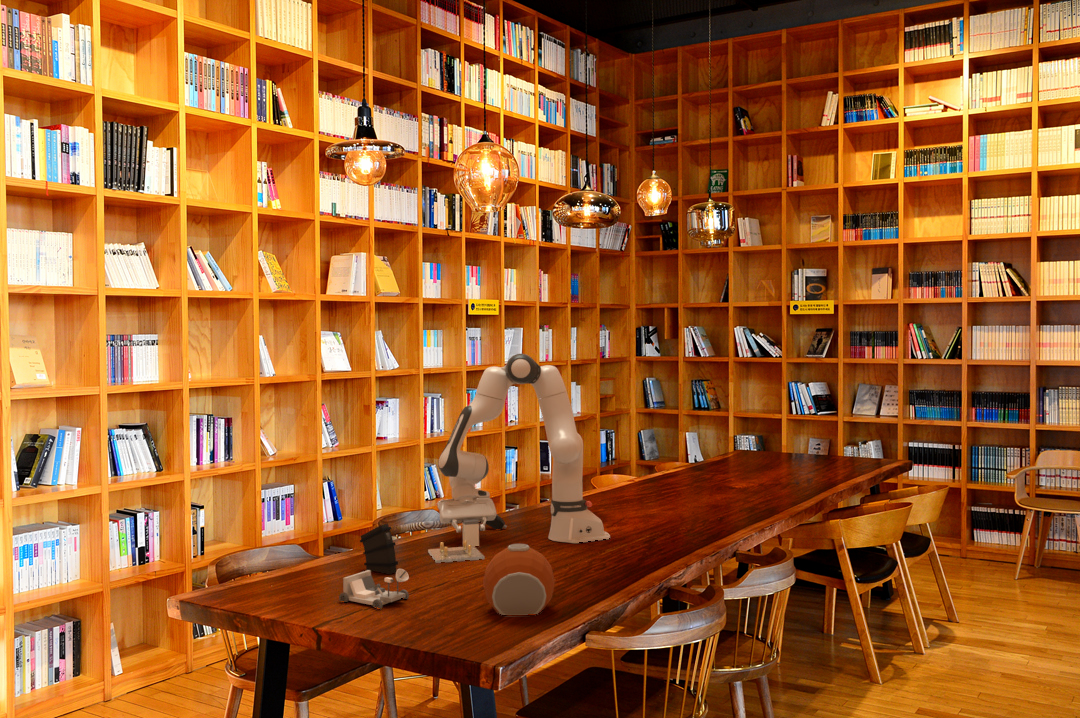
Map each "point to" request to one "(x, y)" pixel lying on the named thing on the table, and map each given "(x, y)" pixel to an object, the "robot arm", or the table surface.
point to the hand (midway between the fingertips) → (470, 530)
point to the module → (471, 532)
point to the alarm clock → (518, 581)
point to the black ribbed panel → (379, 550)
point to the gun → (496, 523)
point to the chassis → (455, 553)
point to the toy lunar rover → (372, 589)
